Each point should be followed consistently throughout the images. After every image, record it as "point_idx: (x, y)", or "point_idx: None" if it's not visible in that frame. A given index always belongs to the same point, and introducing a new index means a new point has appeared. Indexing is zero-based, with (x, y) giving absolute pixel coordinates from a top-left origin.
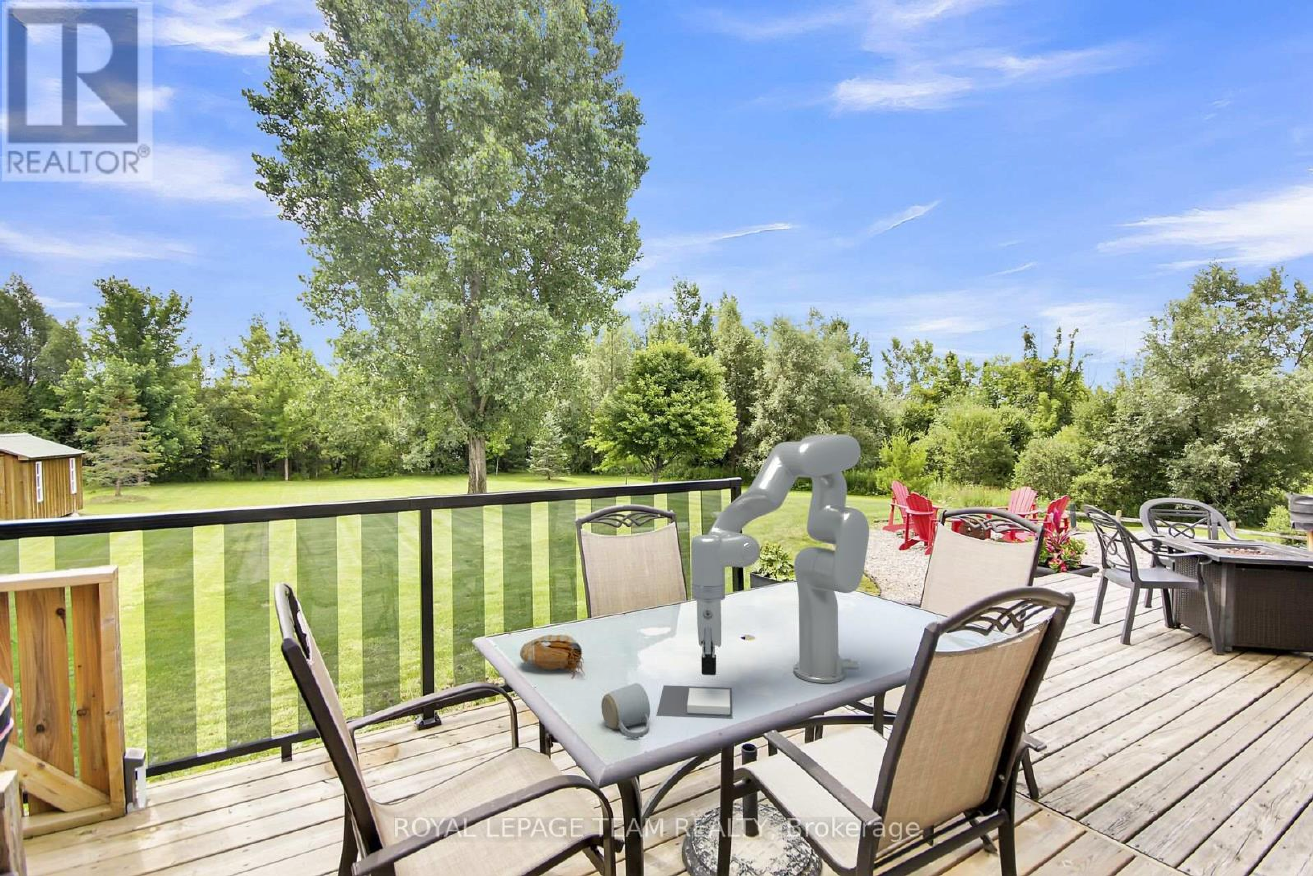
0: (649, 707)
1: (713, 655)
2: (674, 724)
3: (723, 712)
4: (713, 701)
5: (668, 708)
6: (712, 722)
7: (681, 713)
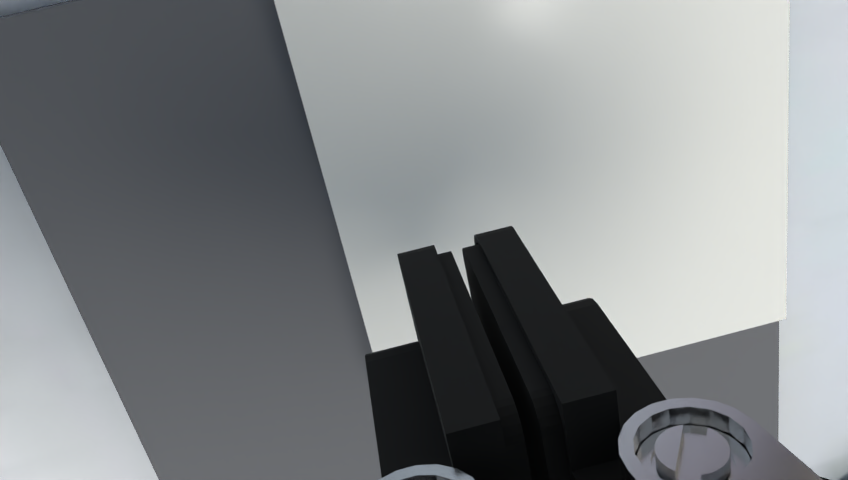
0: None
1: (764, 458)
2: (843, 315)
3: None
4: (677, 106)
5: None
6: (790, 42)
7: None
